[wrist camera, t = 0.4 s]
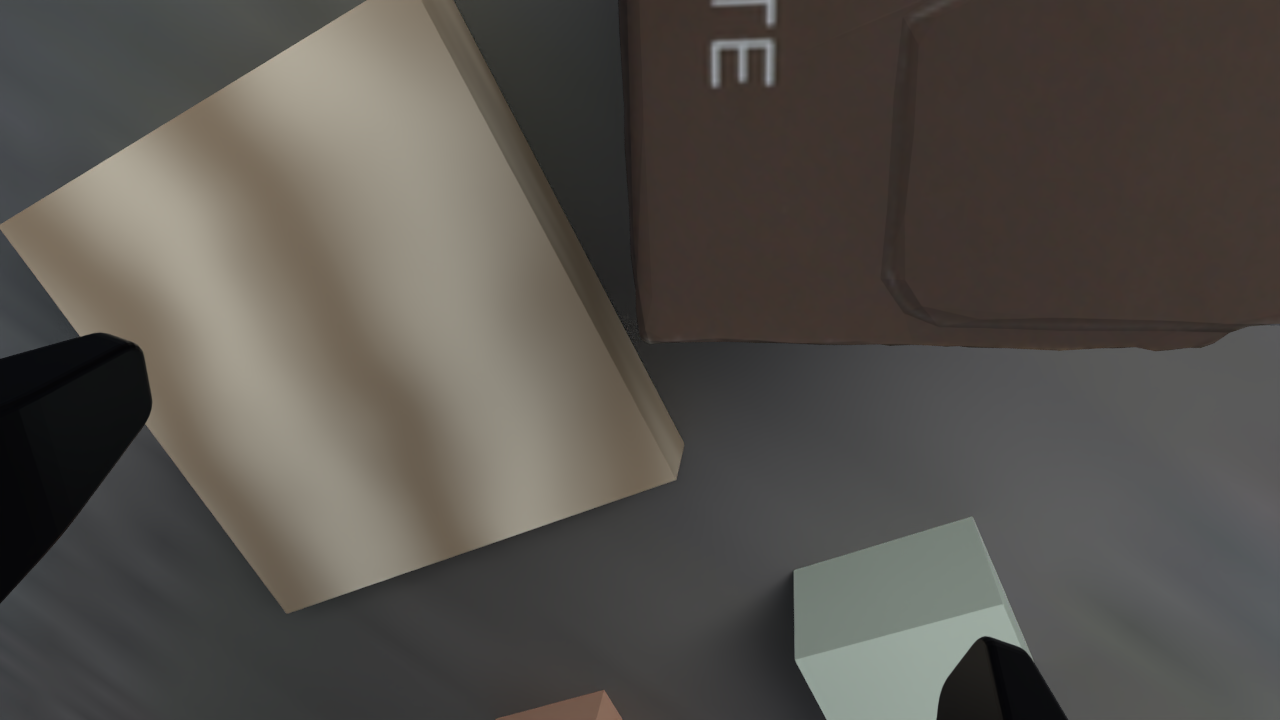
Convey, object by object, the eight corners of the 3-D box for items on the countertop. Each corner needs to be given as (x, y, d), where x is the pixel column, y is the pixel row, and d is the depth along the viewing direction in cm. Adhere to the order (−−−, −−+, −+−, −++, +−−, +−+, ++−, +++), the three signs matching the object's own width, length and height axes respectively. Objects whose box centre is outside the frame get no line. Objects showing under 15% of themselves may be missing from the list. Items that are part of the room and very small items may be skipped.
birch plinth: (317, 575, 29) (286, 613, 28) (54, 208, 25) (-2, 226, 23) (684, 443, 25) (676, 479, 23) (440, -25, 21) (407, -25, 19)
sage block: (859, 696, 28) (870, 802, 25) (793, 567, 27) (794, 659, 23) (1031, 653, 26) (1069, 760, 23) (971, 513, 25) (1003, 603, 21)
